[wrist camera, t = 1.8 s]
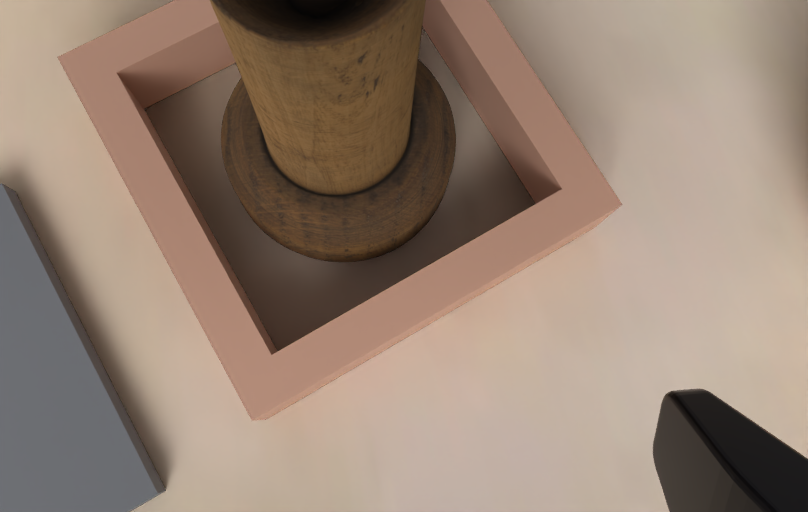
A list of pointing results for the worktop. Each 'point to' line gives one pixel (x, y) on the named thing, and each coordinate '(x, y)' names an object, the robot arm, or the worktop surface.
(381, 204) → the mortar and pestle
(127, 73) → the tray
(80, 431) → the mat
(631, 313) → the worktop surface
